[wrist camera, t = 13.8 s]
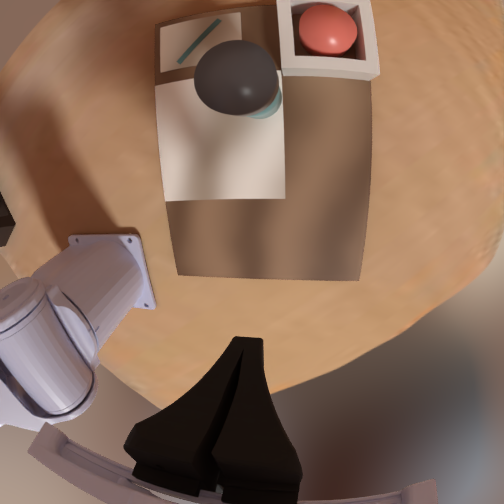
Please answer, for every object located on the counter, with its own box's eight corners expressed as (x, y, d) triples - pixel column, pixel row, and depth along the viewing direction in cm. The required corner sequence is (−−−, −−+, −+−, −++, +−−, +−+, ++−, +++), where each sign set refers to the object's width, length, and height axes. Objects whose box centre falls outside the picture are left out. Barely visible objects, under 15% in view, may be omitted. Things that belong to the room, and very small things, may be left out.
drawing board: (182, 269, 24) (177, 276, 23) (160, 28, 15) (154, 24, 14) (356, 274, 22) (359, 281, 20) (359, 14, 13) (362, 9, 11)
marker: (236, 121, 17) (195, 118, 10) (234, 77, 15) (192, 46, 8) (284, 119, 16) (278, 112, 9) (282, 74, 15) (274, 37, 8)
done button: (300, 58, 14) (301, 49, 12) (297, 16, 12) (297, 3, 11) (352, 61, 13) (359, 53, 11) (347, 19, 12) (353, 7, 10)
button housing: (283, 76, 15) (281, 68, 13) (277, 5, 13) (275, -10, 10) (369, 80, 14) (379, 74, 12) (361, 10, 12) (369, -3, 9)
